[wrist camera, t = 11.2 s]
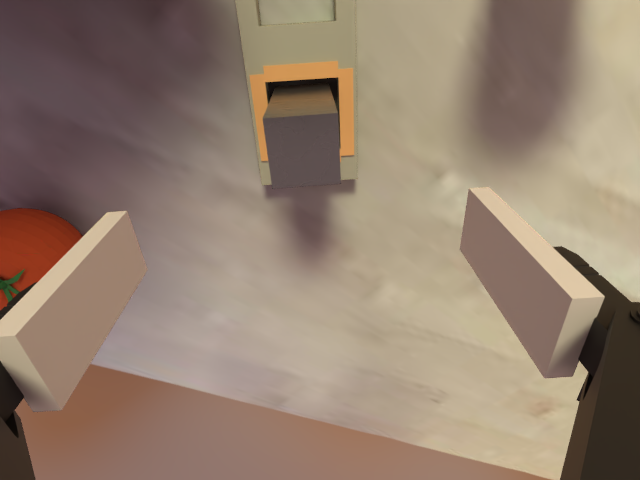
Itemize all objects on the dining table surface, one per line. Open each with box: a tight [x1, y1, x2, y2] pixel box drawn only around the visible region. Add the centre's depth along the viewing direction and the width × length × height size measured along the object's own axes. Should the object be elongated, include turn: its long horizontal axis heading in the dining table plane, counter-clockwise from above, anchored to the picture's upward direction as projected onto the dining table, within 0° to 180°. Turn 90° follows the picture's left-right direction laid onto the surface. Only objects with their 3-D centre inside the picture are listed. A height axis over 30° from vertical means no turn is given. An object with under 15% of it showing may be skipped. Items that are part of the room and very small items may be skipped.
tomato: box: [0, 208, 82, 310], centre depth 36 cm, size 10×10×10 cm
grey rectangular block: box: [263, 83, 341, 189], centre depth 30 cm, size 5×5×12 cm
